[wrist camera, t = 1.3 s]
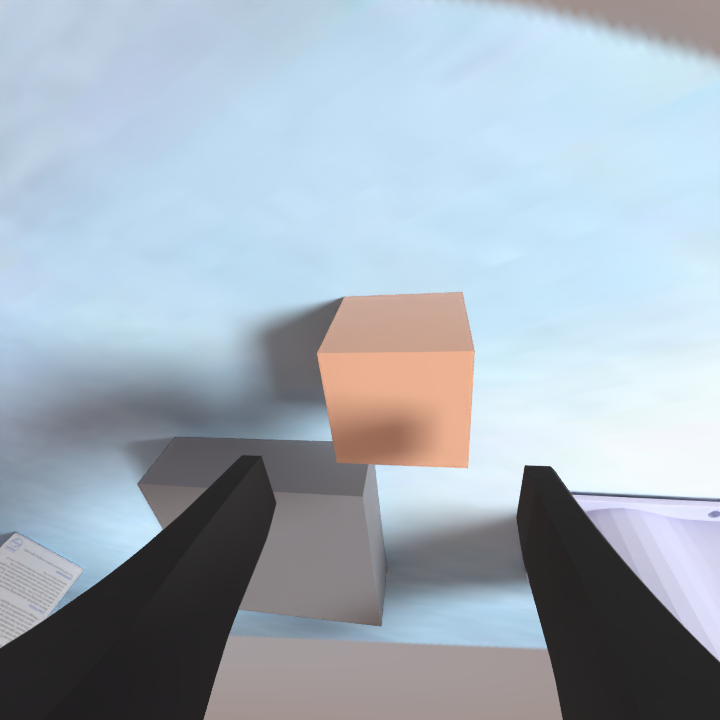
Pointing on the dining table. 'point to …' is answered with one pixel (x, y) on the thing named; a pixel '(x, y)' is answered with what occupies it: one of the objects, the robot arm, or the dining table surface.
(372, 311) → the terracotta block
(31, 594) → the light bulb box
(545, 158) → the dining table surface
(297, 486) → the grey square slab
